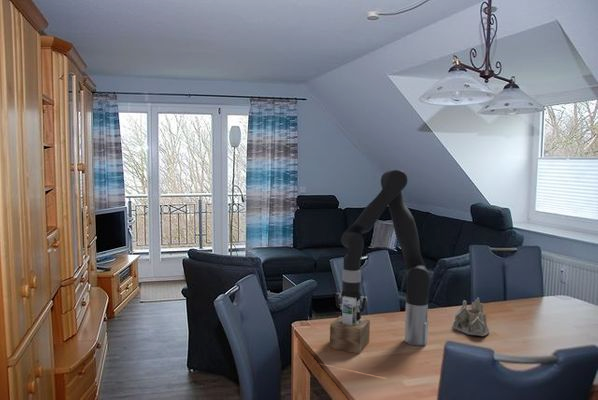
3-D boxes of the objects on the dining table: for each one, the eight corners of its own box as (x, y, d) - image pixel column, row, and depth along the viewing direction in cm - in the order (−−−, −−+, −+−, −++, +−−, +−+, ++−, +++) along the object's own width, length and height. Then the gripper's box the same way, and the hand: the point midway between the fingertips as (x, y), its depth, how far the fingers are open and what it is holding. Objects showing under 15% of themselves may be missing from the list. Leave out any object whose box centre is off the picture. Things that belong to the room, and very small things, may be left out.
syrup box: (341, 330, 188) (342, 296, 187) (346, 326, 193) (347, 293, 192) (354, 333, 185) (355, 298, 184) (359, 328, 191) (360, 295, 190)
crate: (369, 342, 193) (369, 319, 192) (359, 353, 181) (360, 329, 180) (340, 337, 198) (341, 315, 198) (329, 347, 187) (330, 324, 186)
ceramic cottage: (454, 323, 219) (456, 292, 218) (491, 329, 211) (492, 298, 210) (448, 333, 206) (449, 301, 204) (486, 340, 198) (488, 307, 196)
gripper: (370, 279, 188) (369, 319, 189) (338, 275, 194) (337, 313, 195) (365, 283, 181) (364, 324, 183) (332, 279, 187) (331, 319, 189)
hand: (350, 318), depth 189 cm, fingers closed on syrup box, 5 cm apart
